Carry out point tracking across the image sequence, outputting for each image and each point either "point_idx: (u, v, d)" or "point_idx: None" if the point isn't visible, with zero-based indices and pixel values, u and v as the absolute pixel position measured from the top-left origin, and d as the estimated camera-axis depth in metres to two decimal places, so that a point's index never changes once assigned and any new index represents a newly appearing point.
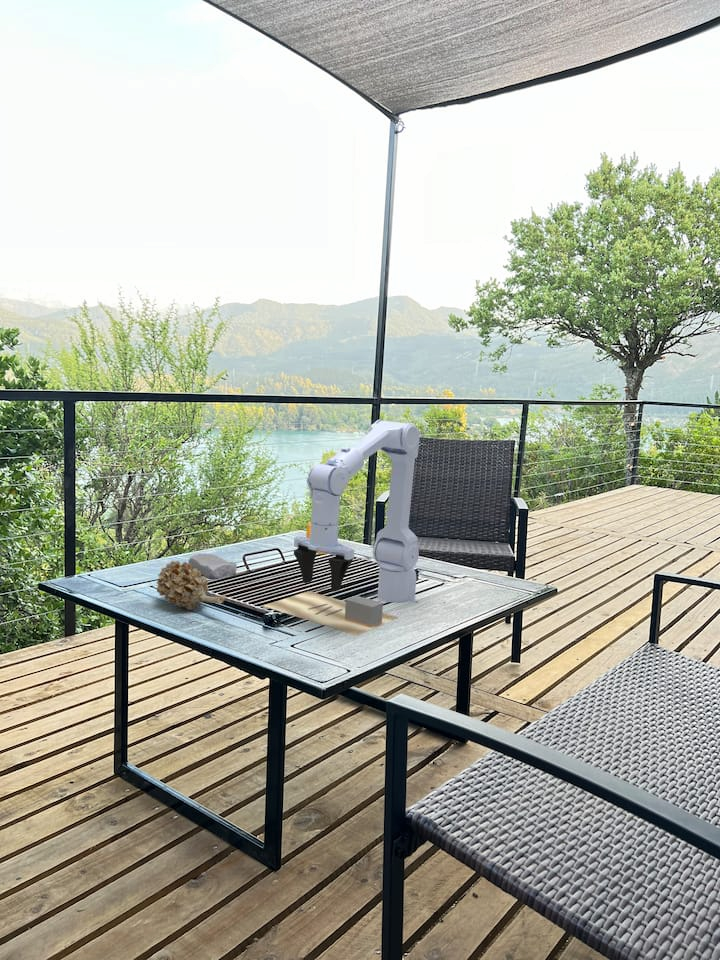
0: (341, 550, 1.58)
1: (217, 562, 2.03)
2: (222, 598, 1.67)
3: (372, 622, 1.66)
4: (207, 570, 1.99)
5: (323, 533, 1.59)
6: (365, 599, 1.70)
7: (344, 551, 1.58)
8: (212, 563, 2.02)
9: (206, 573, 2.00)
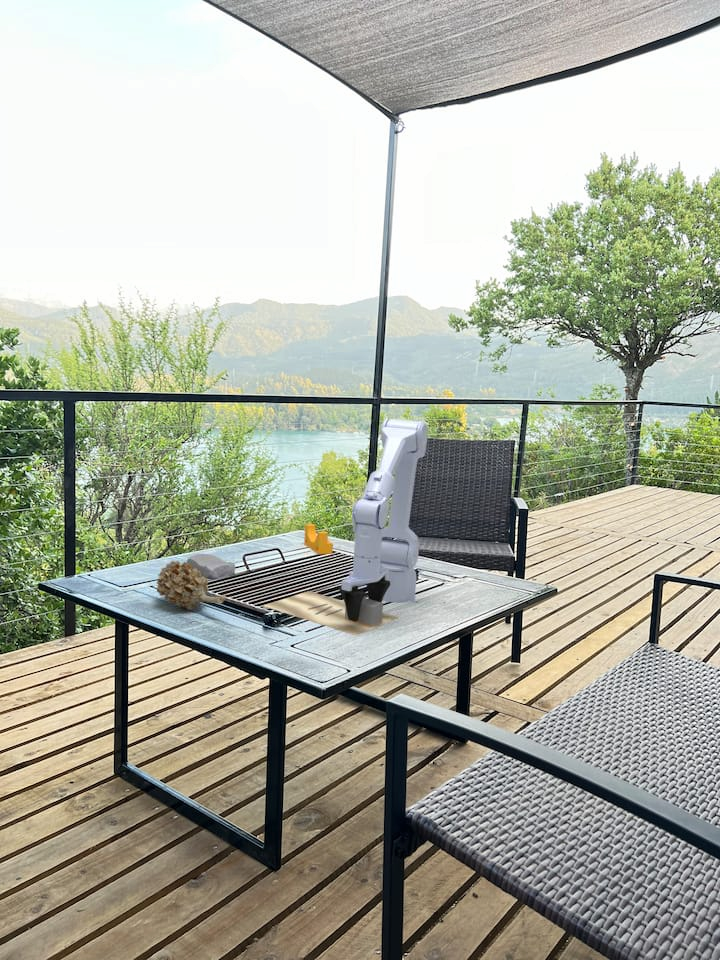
0: None
1: (215, 562, 2.03)
2: (222, 598, 1.67)
3: (372, 622, 1.66)
4: (206, 571, 1.99)
5: None
6: (365, 599, 1.70)
7: None
8: (210, 563, 2.01)
9: (204, 573, 1.99)
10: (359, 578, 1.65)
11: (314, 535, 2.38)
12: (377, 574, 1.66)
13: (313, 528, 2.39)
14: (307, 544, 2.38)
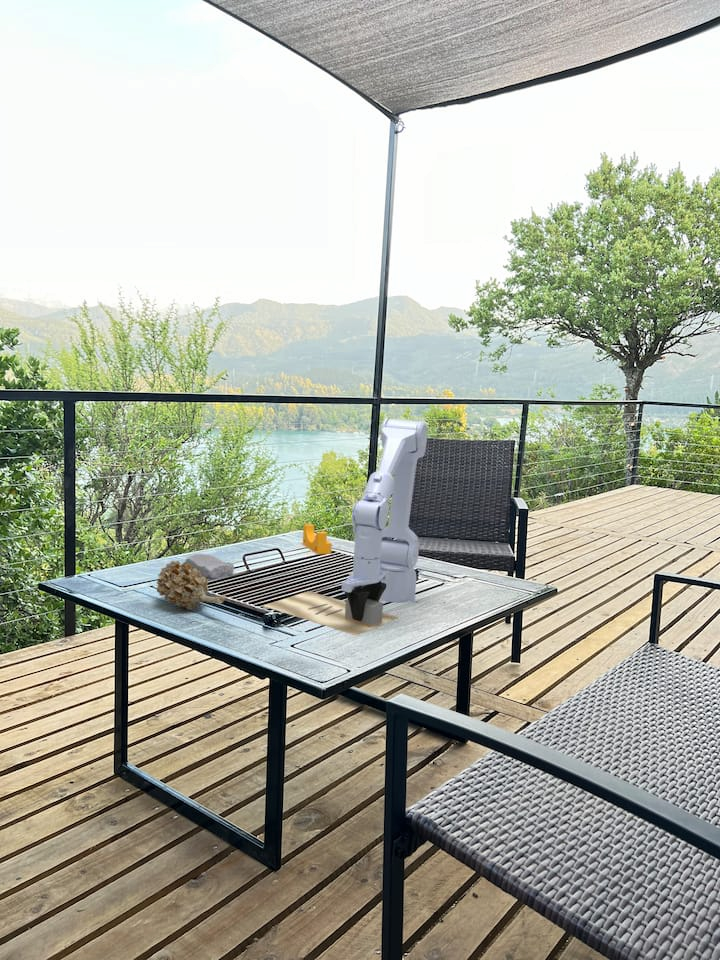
0: None
1: (214, 563, 2.02)
2: (222, 598, 1.67)
3: (372, 622, 1.66)
4: (204, 571, 1.99)
5: None
6: None
7: None
8: (209, 564, 2.01)
9: (203, 573, 1.99)
10: (359, 579, 1.65)
11: (313, 535, 2.38)
12: (377, 575, 1.66)
13: (312, 528, 2.39)
14: (306, 544, 2.38)
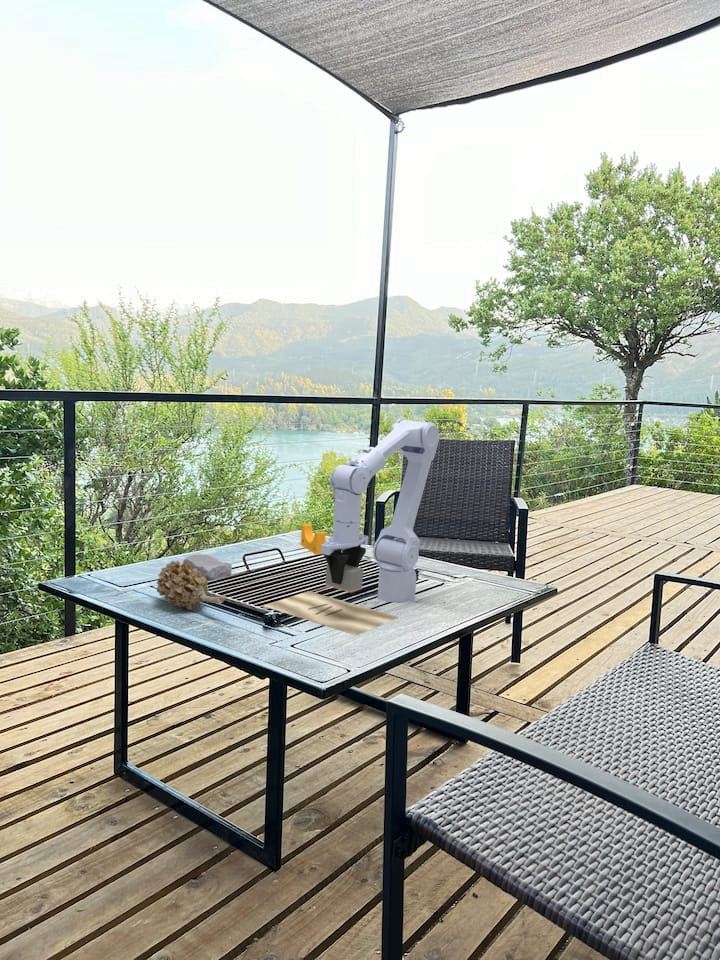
0: (325, 544, 1.67)
1: (212, 563, 2.02)
2: (222, 598, 1.67)
3: (352, 587, 1.69)
4: (202, 571, 1.98)
5: (333, 527, 1.70)
6: (346, 565, 1.73)
7: None
8: (207, 564, 2.01)
9: (201, 573, 1.99)
10: (338, 543, 1.68)
11: (311, 535, 2.38)
12: (356, 539, 1.69)
13: (310, 528, 2.38)
14: (304, 544, 2.38)
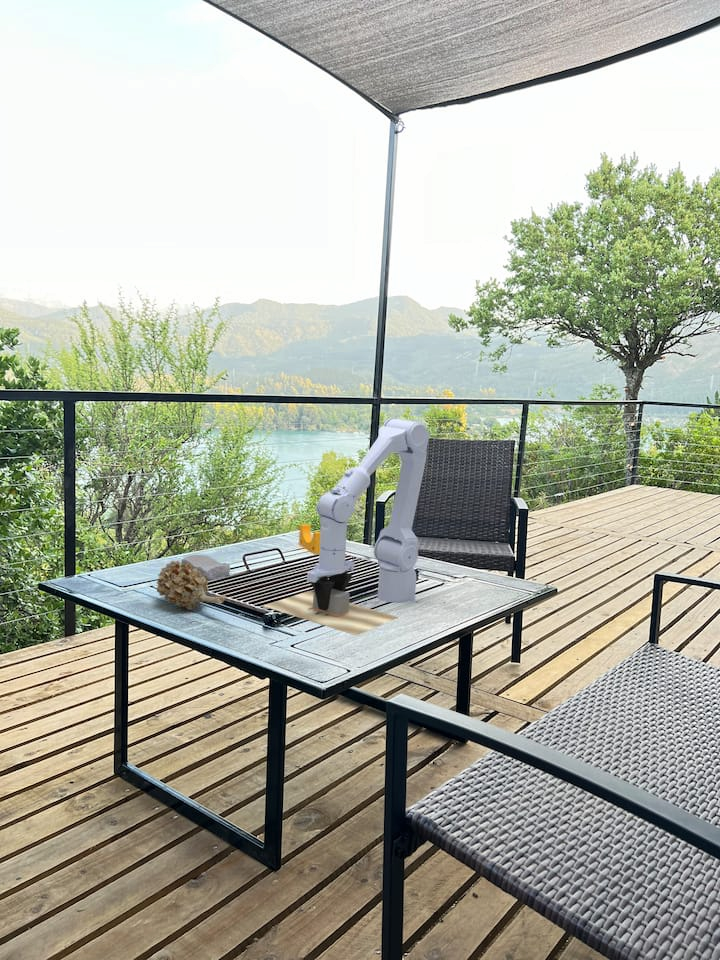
0: (311, 571, 1.70)
1: (210, 563, 2.02)
2: (222, 598, 1.67)
3: (339, 612, 1.71)
4: (200, 572, 1.98)
5: (319, 554, 1.73)
6: (332, 590, 1.75)
7: None
8: (205, 564, 2.00)
9: None
10: (324, 570, 1.71)
11: (309, 535, 2.37)
12: (342, 566, 1.72)
13: (308, 528, 2.38)
14: (302, 544, 2.37)
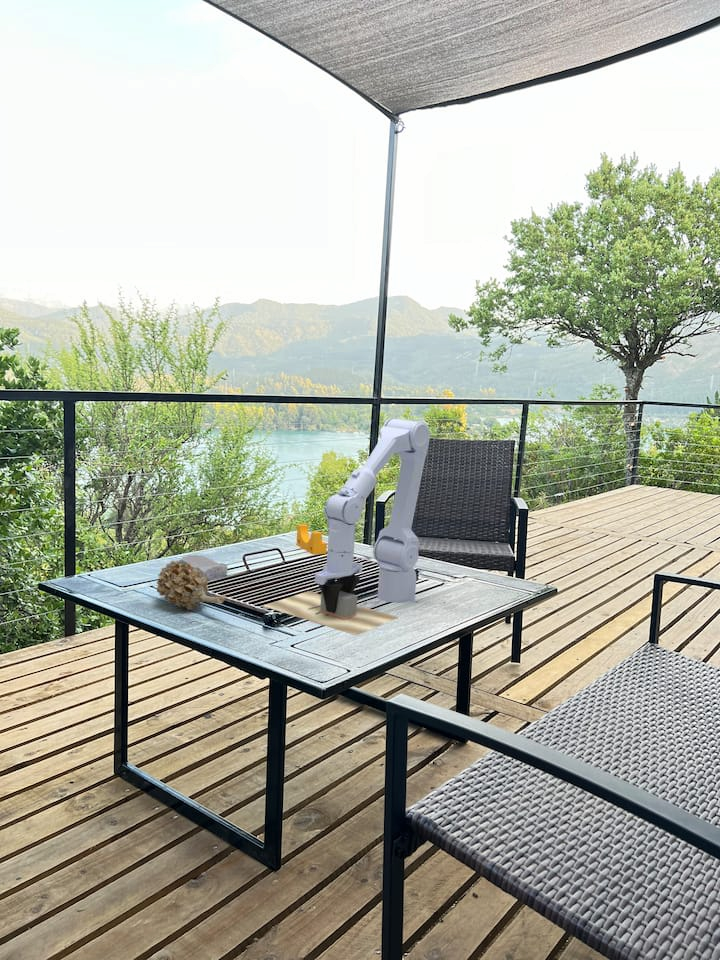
0: None
1: (208, 564, 2.01)
2: (222, 598, 1.67)
3: (346, 614, 1.70)
4: None
5: (327, 556, 1.72)
6: (340, 592, 1.74)
7: None
8: (203, 565, 2.00)
9: None
10: (332, 572, 1.70)
11: (307, 535, 2.37)
12: (350, 568, 1.71)
13: (305, 528, 2.38)
14: (300, 544, 2.37)
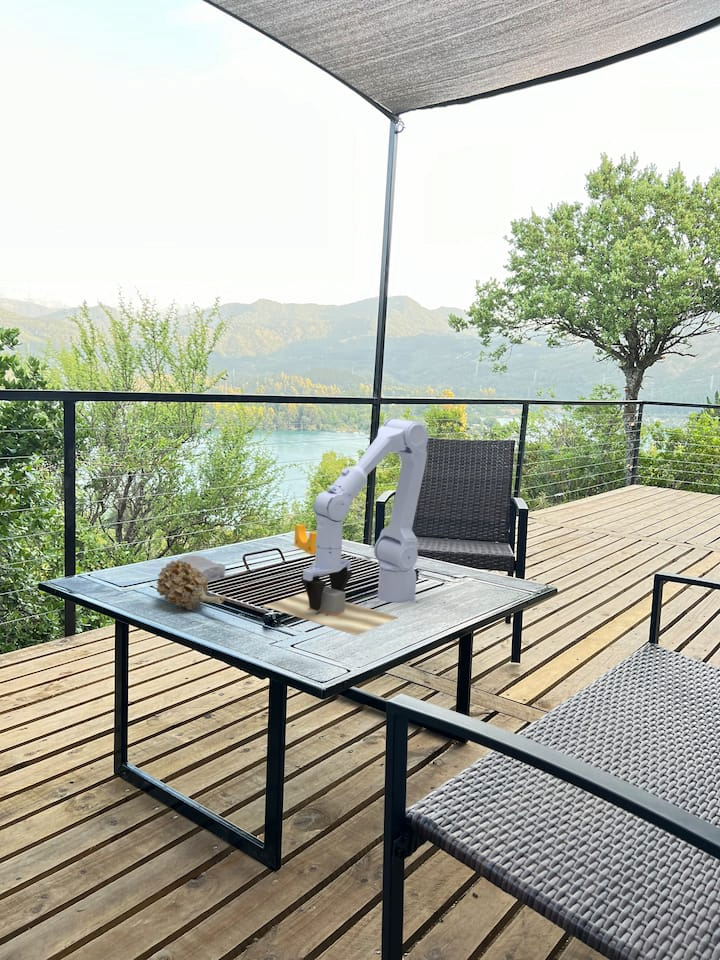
0: (307, 569, 1.70)
1: (205, 564, 2.01)
2: (222, 598, 1.67)
3: (334, 610, 1.72)
4: None
5: None
6: (328, 588, 1.76)
7: None
8: (200, 565, 1.99)
9: None
10: (320, 568, 1.71)
11: (305, 535, 2.37)
12: (338, 564, 1.72)
13: (303, 528, 2.37)
14: (298, 545, 2.37)
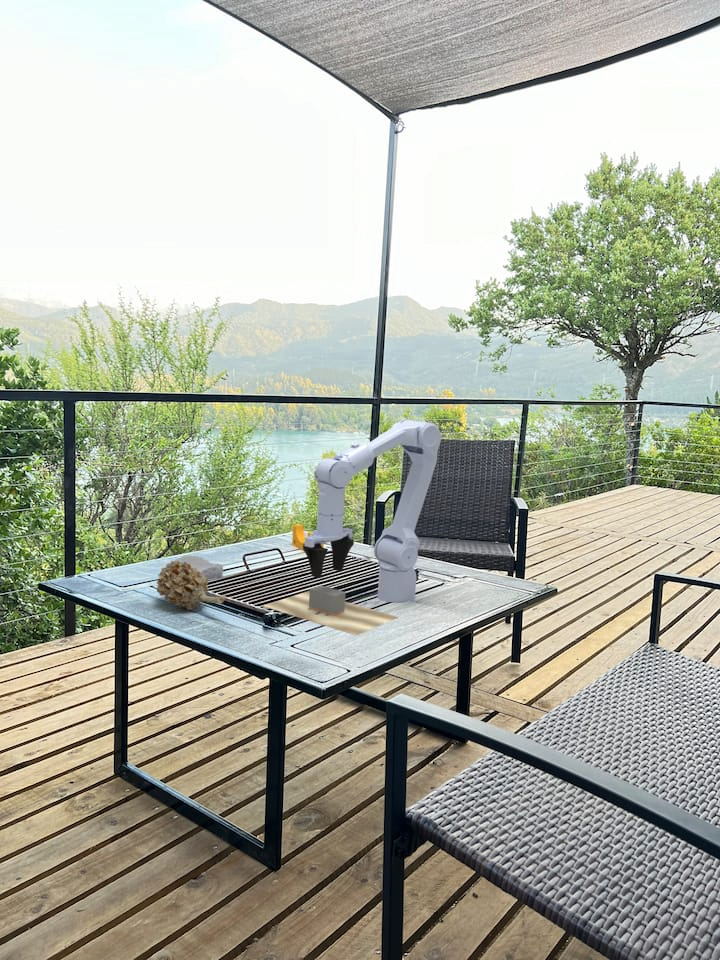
0: None
1: (203, 564, 2.00)
2: (222, 598, 1.67)
3: (334, 610, 1.72)
4: None
5: (317, 520, 1.72)
6: (328, 588, 1.76)
7: None
8: (198, 565, 1.99)
9: None
10: (322, 535, 1.70)
11: (303, 536, 2.37)
12: (340, 532, 1.71)
13: (301, 529, 2.37)
14: (296, 545, 2.36)
